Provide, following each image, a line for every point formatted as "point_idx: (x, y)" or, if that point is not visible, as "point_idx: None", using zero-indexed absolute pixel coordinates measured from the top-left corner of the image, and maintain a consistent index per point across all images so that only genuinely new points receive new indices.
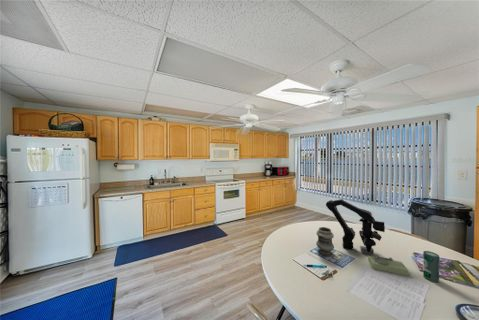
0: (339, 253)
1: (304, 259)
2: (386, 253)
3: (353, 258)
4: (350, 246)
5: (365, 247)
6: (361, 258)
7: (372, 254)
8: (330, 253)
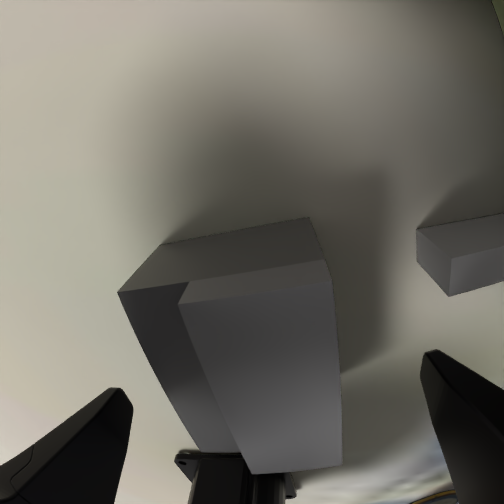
0: (412, 485)
1: None
2: (55, 18)
3: None
4: (271, 495)
5: (280, 434)
6: (473, 369)
7: (457, 278)
8: (442, 501)
